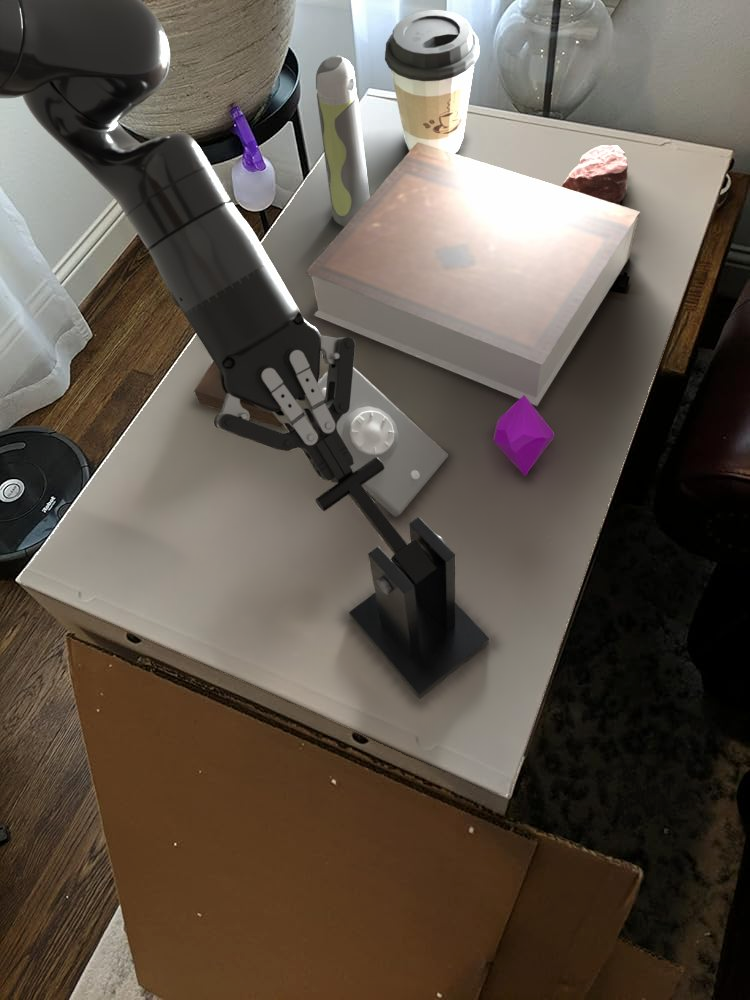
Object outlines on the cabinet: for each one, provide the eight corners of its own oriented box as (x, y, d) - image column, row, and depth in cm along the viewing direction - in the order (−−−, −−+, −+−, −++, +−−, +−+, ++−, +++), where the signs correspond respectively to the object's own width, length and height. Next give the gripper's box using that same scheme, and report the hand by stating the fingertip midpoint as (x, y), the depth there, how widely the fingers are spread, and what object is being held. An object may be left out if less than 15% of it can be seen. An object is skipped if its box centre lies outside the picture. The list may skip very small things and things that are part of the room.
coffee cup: (414, 183, 109) (409, 71, 96) (376, 134, 115) (367, 23, 102) (493, 153, 111) (498, 39, 98) (452, 106, 116) (452, -6, 104)
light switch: (402, 513, 82) (289, 410, 80) (382, 525, 87) (276, 429, 86) (453, 452, 85) (345, 351, 84) (431, 467, 90) (329, 373, 89)
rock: (622, 190, 109) (559, 177, 110) (637, 141, 104) (572, 128, 105) (618, 230, 102) (551, 216, 102) (635, 179, 97) (565, 165, 98)
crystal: (486, 446, 87) (487, 419, 83) (525, 418, 88) (528, 390, 84) (521, 479, 85) (525, 452, 81) (561, 449, 86) (566, 421, 82)
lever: (313, 503, 68) (315, 495, 65) (373, 462, 69) (377, 452, 67) (391, 604, 66) (395, 599, 64) (450, 559, 68) (456, 553, 66)
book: (419, 187, 108) (417, 142, 103) (629, 257, 99) (639, 211, 94) (313, 315, 98) (305, 272, 93) (536, 405, 89) (542, 364, 84)
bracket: (349, 617, 78) (329, 539, 66) (417, 566, 80) (410, 482, 68) (419, 699, 74) (412, 633, 61) (489, 643, 76) (496, 568, 63)
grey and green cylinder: (357, 234, 105) (339, 81, 88) (325, 221, 106) (300, 68, 89) (379, 210, 107) (365, 56, 90) (347, 197, 108) (327, 44, 91)
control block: (281, 427, 90) (275, 404, 87) (198, 404, 93) (189, 380, 89) (312, 371, 94) (307, 347, 91) (232, 350, 96) (224, 325, 93)
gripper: (155, 324, 58) (289, 531, 63) (312, 230, 61) (426, 434, 66) (140, 332, 65) (262, 519, 70) (282, 247, 68) (388, 431, 73)
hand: (342, 477), depth 68 cm, fingers closed
